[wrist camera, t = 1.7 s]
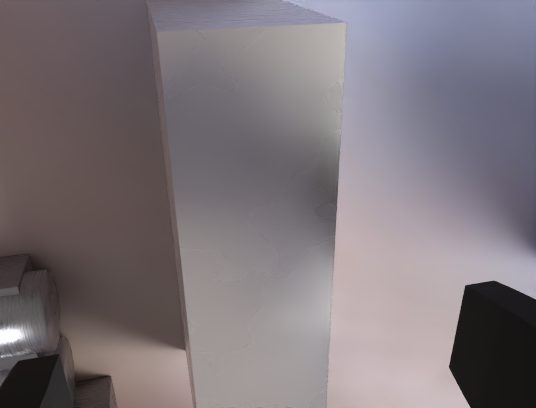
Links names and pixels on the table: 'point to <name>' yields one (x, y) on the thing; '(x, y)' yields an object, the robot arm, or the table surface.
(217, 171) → the pale grey rectangular prism
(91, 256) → the table surface
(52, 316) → the chain end
